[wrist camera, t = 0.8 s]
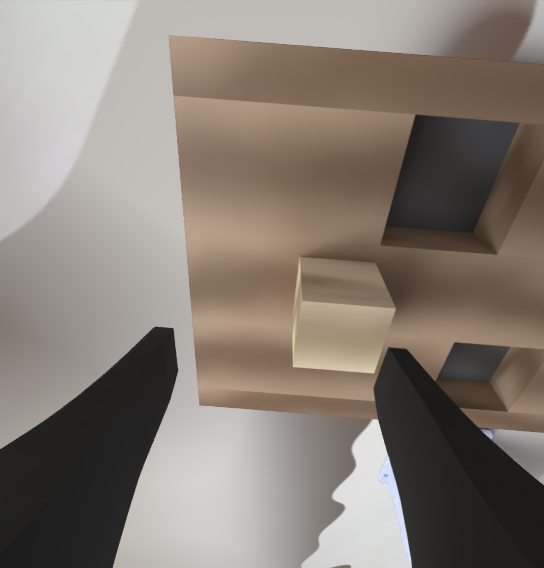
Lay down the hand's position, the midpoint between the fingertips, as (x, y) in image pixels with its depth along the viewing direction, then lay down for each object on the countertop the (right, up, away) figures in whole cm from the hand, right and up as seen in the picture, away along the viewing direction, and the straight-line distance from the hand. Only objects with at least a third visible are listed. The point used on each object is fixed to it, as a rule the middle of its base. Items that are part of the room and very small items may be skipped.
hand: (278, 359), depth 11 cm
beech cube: (+3, +2, +7) cm, 8 cm away
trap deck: (+9, +3, +10) cm, 14 cm away
